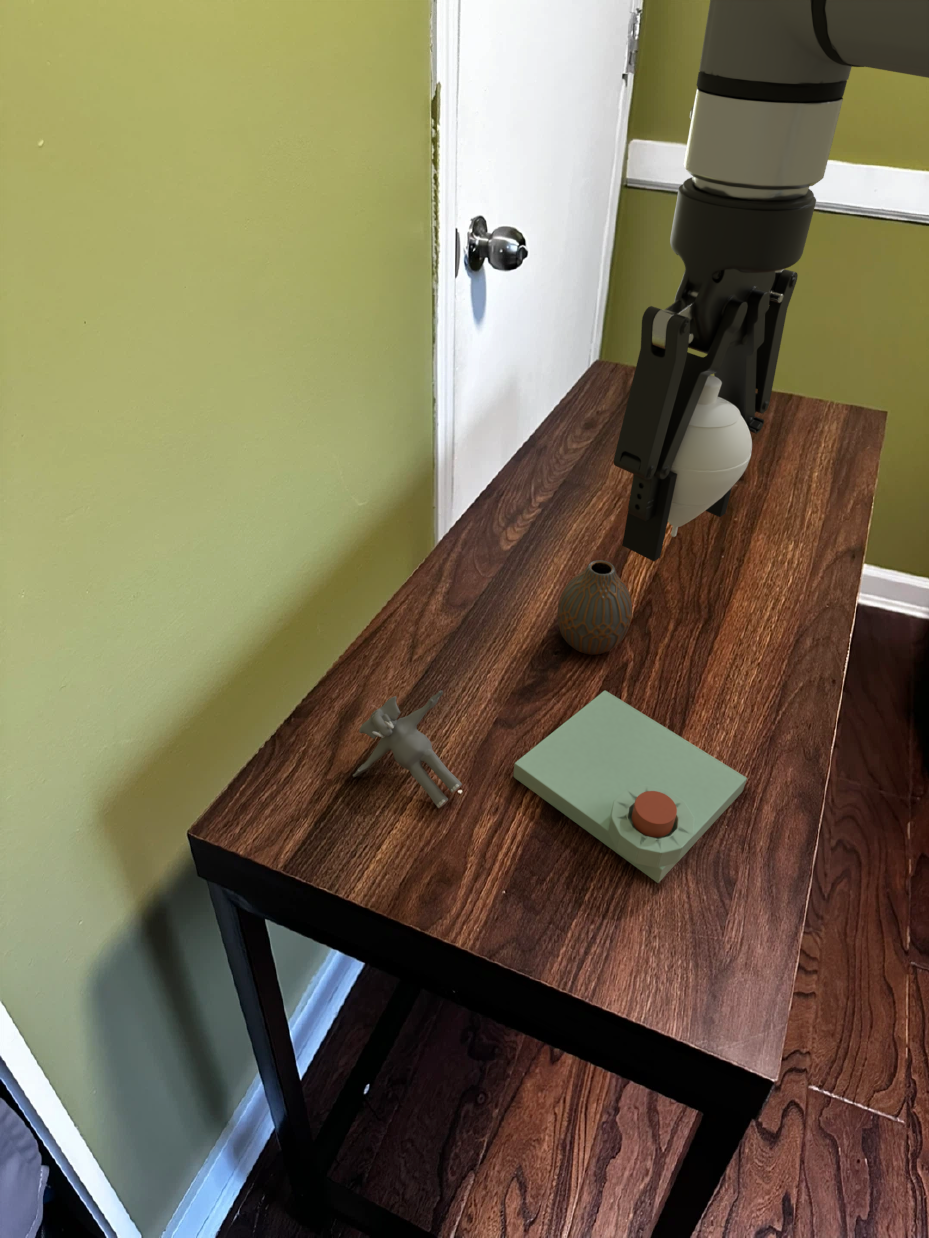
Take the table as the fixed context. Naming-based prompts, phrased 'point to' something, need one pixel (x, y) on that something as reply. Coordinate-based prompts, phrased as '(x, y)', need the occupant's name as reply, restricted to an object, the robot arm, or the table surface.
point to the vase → (595, 609)
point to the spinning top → (708, 456)
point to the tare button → (654, 814)
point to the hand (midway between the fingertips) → (675, 528)
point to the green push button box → (628, 780)
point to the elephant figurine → (408, 746)
